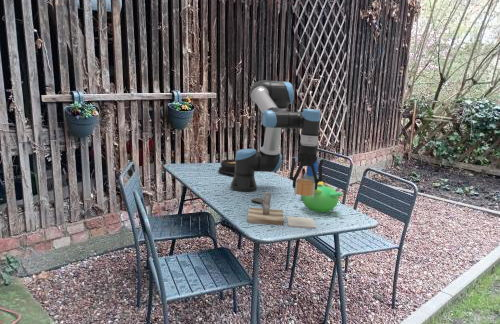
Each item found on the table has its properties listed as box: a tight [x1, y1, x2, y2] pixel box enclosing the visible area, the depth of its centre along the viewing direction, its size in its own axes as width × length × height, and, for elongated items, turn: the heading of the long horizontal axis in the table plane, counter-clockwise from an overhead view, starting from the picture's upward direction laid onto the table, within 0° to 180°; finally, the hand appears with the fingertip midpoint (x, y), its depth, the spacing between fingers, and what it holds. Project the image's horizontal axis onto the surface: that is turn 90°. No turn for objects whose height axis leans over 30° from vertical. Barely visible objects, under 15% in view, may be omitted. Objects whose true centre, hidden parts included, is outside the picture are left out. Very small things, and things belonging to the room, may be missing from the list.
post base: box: [247, 191, 285, 226], centre depth 175 cm, size 16×16×12 cm
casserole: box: [218, 159, 235, 176], centre depth 263 cm, size 25×19×8 cm
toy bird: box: [302, 181, 344, 213], centre depth 191 cm, size 18×17×15 cm
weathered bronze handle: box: [251, 197, 264, 205], centre depth 194 cm, size 22×3×7 cm
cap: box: [296, 178, 313, 196], centre depth 169 cm, size 7×7×6 cm
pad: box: [286, 215, 317, 230], centre depth 173 cm, size 12×12×1 cm
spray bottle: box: [300, 161, 319, 202], centre depth 208 cm, size 9×9×25 cm
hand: (303, 195), depth 170 cm, fingers closed on cap, 7 cm apart
